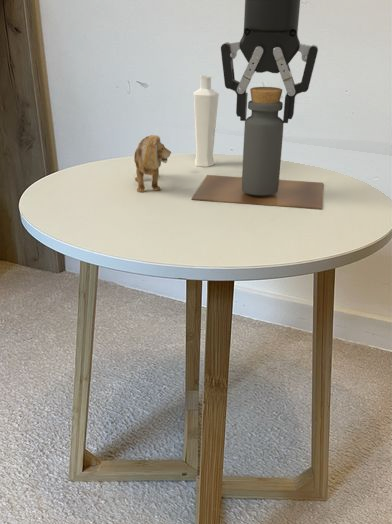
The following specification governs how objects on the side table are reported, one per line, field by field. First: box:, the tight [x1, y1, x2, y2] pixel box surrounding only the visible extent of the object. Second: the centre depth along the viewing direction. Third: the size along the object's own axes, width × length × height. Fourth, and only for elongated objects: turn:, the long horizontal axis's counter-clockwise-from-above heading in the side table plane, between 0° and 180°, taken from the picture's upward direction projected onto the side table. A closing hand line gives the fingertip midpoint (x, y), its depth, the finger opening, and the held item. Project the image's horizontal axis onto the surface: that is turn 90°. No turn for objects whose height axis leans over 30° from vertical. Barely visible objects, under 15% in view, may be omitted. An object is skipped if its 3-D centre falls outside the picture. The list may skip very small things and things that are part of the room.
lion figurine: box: [133, 134, 172, 193], centre depth 97 cm, size 15×5×9 cm, turn 13°
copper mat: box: [191, 174, 324, 210], centre depth 97 cm, size 20×14×1 cm
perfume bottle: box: [192, 75, 220, 168], centre depth 108 cm, size 5×4×15 cm
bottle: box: [241, 86, 285, 195], centre depth 92 cm, size 6×6×15 cm
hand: (264, 120), depth 90 cm, fingers closed on bottle, 5 cm apart
